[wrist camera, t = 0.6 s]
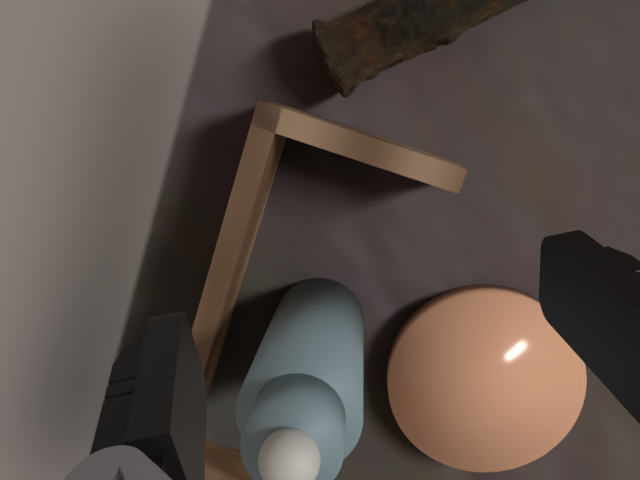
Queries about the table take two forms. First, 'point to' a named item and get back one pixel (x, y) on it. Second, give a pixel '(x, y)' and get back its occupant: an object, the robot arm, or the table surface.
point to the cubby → (247, 210)
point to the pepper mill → (304, 386)
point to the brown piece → (394, 34)
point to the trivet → (483, 379)
